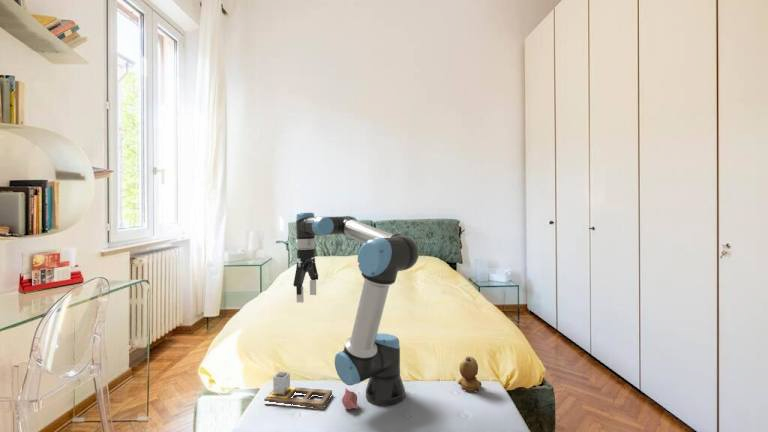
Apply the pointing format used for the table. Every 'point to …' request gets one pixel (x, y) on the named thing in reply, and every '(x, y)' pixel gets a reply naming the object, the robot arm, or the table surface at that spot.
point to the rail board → (305, 400)
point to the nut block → (281, 384)
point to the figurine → (469, 375)
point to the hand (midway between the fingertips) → (306, 298)
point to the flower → (349, 400)
